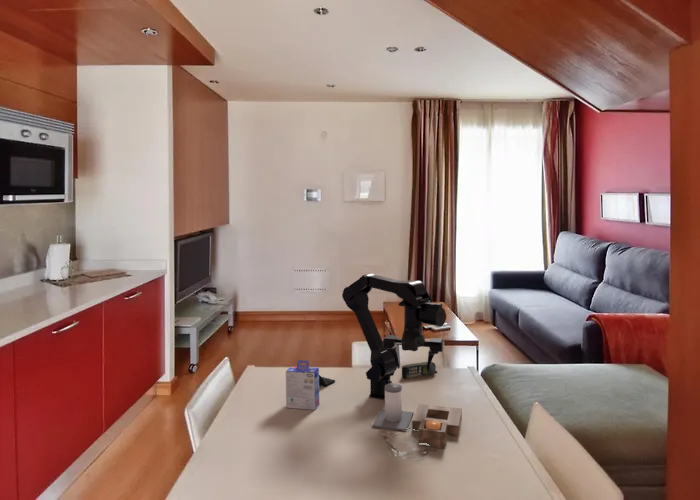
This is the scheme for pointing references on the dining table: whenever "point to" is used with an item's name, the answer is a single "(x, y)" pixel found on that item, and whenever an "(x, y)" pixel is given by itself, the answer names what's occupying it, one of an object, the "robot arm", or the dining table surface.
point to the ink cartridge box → (302, 387)
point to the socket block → (444, 415)
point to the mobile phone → (417, 370)
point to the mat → (400, 425)
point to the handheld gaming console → (325, 381)
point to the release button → (433, 425)
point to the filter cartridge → (393, 402)
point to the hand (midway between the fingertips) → (413, 369)
